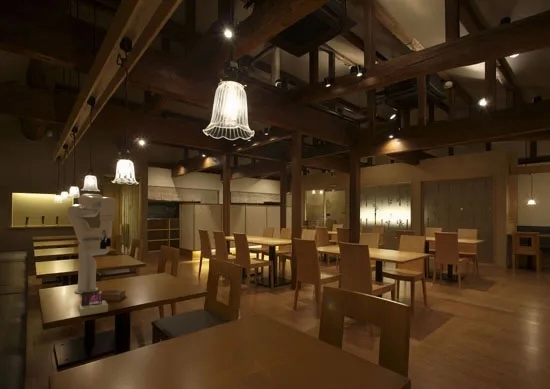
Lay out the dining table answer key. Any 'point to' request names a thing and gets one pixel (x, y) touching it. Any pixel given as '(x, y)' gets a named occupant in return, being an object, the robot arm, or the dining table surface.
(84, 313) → the sage block
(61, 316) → the dining table surface
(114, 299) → the walnut block
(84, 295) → the purple printed box
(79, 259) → the robot arm
